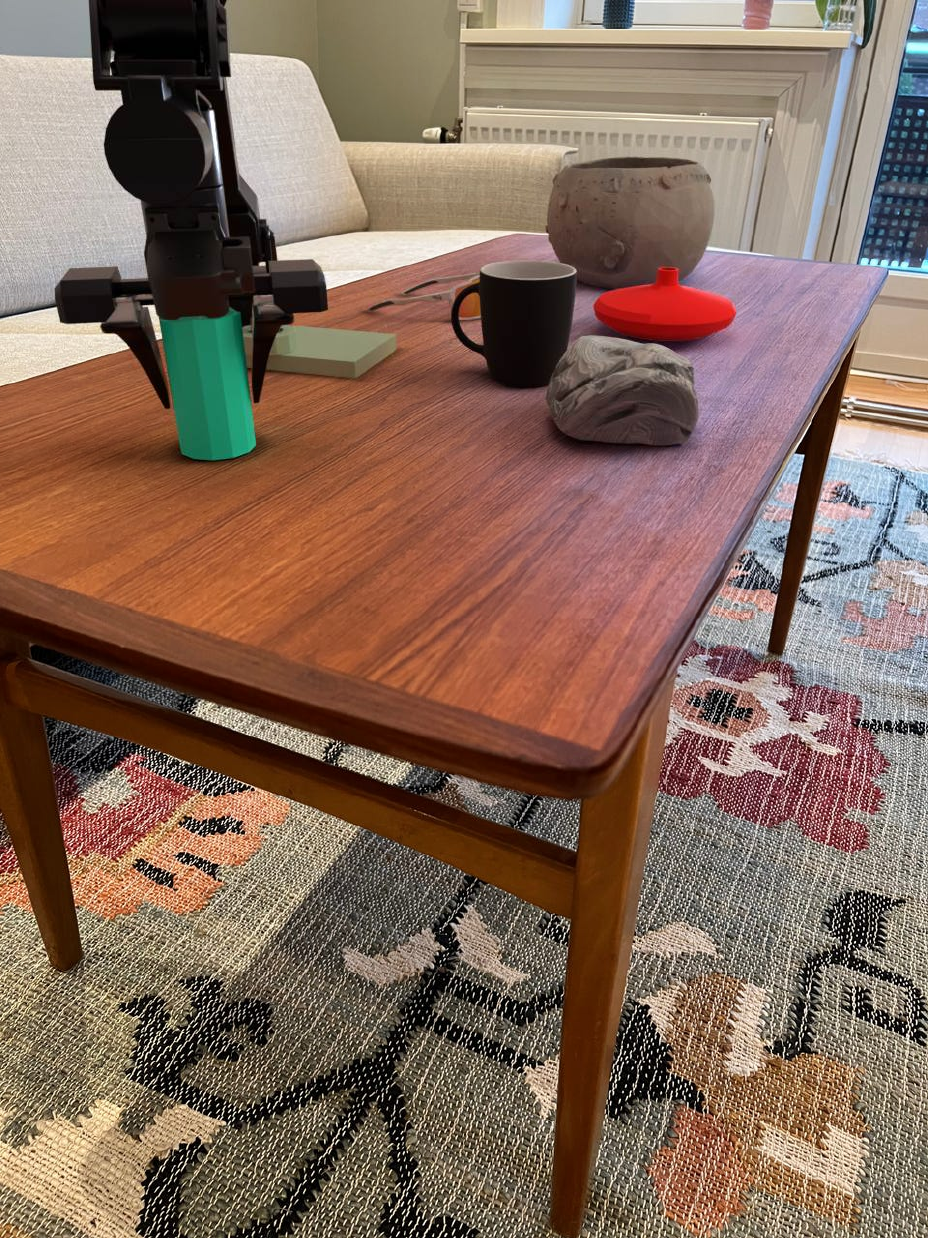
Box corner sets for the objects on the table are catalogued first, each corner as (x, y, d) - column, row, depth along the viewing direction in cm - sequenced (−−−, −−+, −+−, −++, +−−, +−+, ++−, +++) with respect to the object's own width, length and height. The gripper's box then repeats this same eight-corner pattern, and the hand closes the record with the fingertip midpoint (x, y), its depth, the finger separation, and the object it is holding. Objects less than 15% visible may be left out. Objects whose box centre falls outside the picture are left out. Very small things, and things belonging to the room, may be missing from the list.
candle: (252, 459, 72) (232, 299, 66) (173, 461, 72) (146, 300, 65) (260, 432, 77) (242, 281, 71) (186, 434, 77) (162, 282, 70)
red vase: (640, 359, 96) (647, 289, 92) (566, 325, 108) (569, 261, 105) (762, 344, 102) (774, 276, 98) (679, 312, 114) (686, 251, 110)
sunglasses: (476, 325, 107) (471, 280, 105) (362, 332, 113) (355, 289, 111) (516, 300, 119) (512, 259, 116) (411, 307, 124) (405, 268, 122)
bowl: (594, 256, 146) (601, 150, 138) (733, 274, 134) (750, 158, 126) (513, 281, 130) (516, 162, 122) (663, 303, 118) (678, 173, 110)
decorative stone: (593, 353, 86) (628, 255, 78) (716, 432, 82) (766, 338, 75) (499, 420, 78) (527, 319, 70) (631, 511, 74) (677, 415, 66)
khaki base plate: (230, 370, 93) (226, 334, 91) (286, 340, 103) (283, 307, 101) (350, 382, 89) (348, 345, 87) (396, 350, 99) (395, 316, 97)
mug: (579, 369, 93) (586, 263, 88) (557, 396, 86) (564, 281, 80) (466, 358, 96) (466, 255, 91) (436, 383, 89) (434, 272, 84)
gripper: (15, 205, 56) (71, 450, 64) (326, 197, 59) (342, 431, 67) (45, 183, 65) (91, 400, 73) (313, 177, 69) (328, 385, 77)
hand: (212, 404), depth 72 cm, fingers closed on candle, 6 cm apart
